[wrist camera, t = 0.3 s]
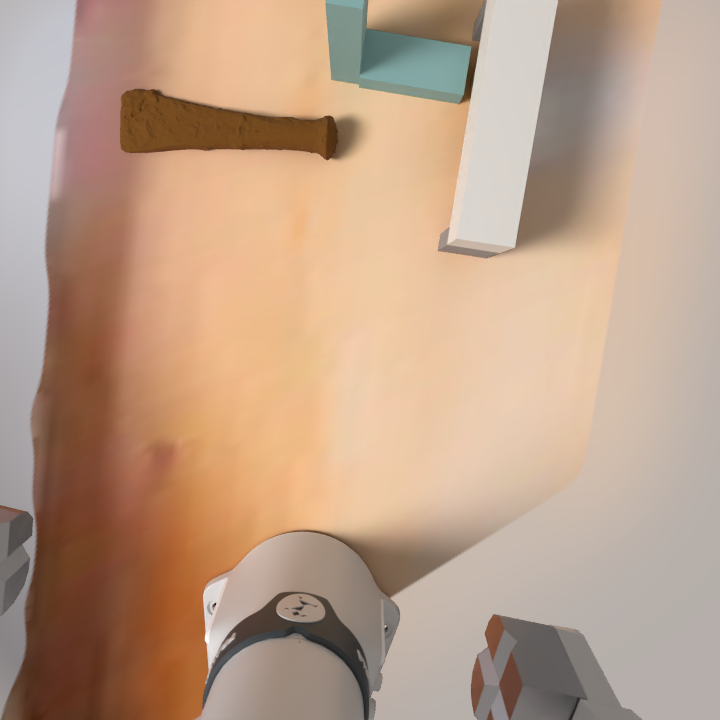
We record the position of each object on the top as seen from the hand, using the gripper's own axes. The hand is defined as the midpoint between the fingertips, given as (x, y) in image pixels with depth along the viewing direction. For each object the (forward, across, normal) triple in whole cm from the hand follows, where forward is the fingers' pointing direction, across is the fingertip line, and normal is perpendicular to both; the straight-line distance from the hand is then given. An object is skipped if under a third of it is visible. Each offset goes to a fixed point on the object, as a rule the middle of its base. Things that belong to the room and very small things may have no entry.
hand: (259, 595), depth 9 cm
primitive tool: (+43, -14, +12) cm, 47 cm away
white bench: (+44, +8, +16) cm, 47 cm away
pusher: (+44, -1, +21) cm, 49 cm away
